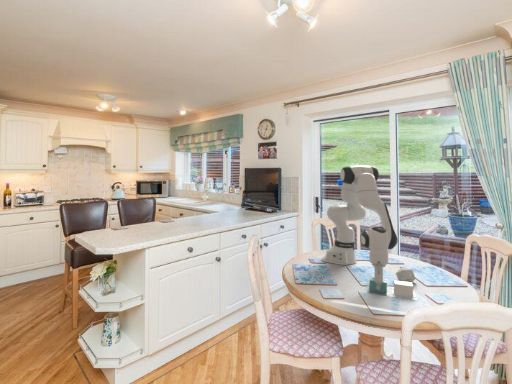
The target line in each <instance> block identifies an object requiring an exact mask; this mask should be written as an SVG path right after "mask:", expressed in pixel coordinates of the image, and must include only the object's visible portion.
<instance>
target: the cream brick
mask: <svg viewBox="0 0 512 384" xmlns="http://www.w3.org/2000/svg"><path fill="white" fill-rule="evenodd" d="M393 287H394V293H395V294H400V295H407V296H413V290H414V284H413V282H404V281H399V280H398V279H394V280H393Z"/></svg>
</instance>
